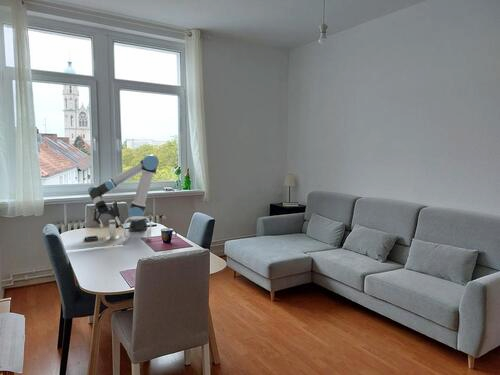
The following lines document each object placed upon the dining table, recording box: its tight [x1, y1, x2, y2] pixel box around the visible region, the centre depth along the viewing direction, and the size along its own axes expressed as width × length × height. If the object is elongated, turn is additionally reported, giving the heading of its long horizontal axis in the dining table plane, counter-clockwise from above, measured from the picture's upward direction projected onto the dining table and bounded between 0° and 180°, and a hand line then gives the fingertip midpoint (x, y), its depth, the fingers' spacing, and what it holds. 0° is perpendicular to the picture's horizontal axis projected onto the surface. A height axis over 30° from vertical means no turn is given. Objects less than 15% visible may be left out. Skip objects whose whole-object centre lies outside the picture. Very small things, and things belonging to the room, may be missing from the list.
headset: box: [122, 216, 152, 240], centre depth 262 cm, size 20×7×18 cm, turn 105°
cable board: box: [82, 235, 123, 243], centre depth 260 cm, size 26×10×4 cm, turn 115°
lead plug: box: [108, 219, 117, 238], centre depth 262 cm, size 5×5×13 cm
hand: (111, 225), depth 262 cm, fingers open, 13 cm apart
